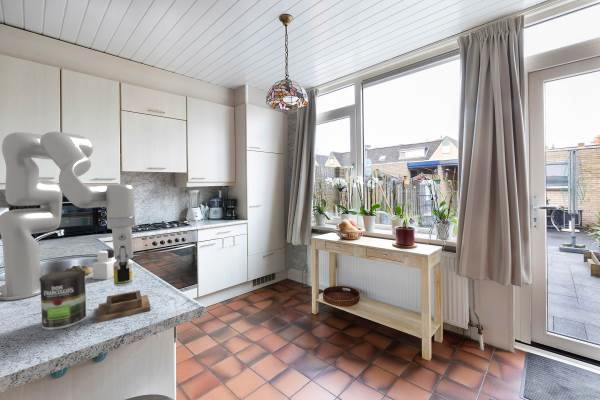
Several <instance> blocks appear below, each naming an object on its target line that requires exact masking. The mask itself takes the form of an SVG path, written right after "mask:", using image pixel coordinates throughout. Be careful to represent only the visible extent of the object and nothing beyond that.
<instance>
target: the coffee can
mask: <svg viewBox="0 0 600 400" xmlns="http://www.w3.org/2000/svg"><path fill="white" fill-rule="evenodd" d="M65 270H66V269H65ZM65 270H60V271H55V272H51V273H47V274H44V275H41V277H40V279H39V280H40V287H41V294H40V302H41V303H40V305H41V329H42V330H47V331H54V330H55V331H56V330H63V329H66V328H69V327H73V326H75V325H78V324H79V323H82V322H83V321H84V320H86V319H87V317H88V316H87V296H86V295H87V293H86V292H87V291H86V276H85V273H86V272H85V271H84V270H66V271H65Z"/></svg>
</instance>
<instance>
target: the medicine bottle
mask: <svg viewBox="0 0 600 400" xmlns="http://www.w3.org/2000/svg"><path fill="white" fill-rule="evenodd" d="M96 260H97V261H95V262H92V264H91V265H92V268H91V269H92V270H93V272H92V279H93V280H103V281H104V280H105V281H107V280H110V279H112V278H113V279H114V269H113V264H114V262H116V261H117V260H116V259H115V255H114V249H111V248H110V249H108V248H107V249H101V250H99V251H97V259H96Z"/></svg>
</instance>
